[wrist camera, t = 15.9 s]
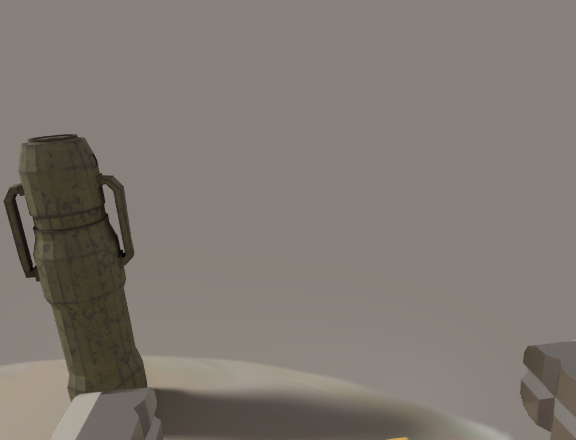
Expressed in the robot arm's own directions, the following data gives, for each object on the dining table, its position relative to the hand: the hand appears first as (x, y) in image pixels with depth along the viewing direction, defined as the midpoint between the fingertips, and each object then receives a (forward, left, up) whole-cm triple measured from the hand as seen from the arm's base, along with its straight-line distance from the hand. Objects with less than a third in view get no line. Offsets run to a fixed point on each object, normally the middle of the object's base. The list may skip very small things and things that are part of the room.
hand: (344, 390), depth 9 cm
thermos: (+23, +40, -32) cm, 56 cm away
